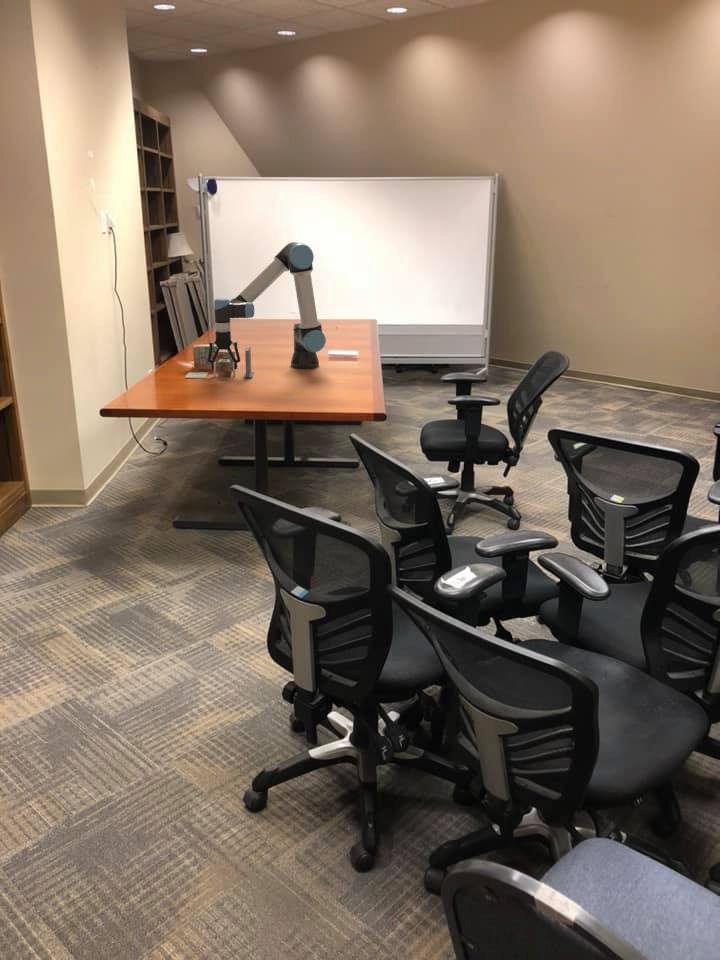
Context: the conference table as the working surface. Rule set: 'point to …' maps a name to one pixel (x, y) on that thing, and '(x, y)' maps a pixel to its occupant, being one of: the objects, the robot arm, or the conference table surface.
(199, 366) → the stack of blocks
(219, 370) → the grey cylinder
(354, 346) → the conference table surface
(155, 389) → the conference table surface
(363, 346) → the conference table surface
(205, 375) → the pad
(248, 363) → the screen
